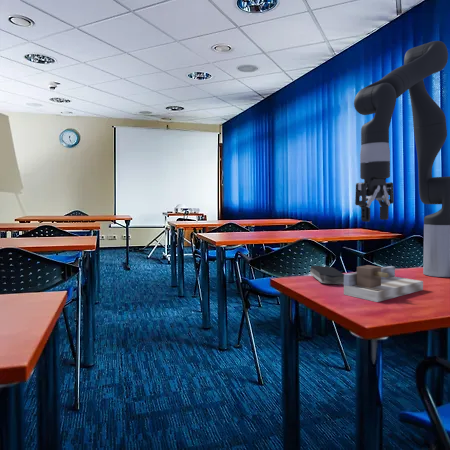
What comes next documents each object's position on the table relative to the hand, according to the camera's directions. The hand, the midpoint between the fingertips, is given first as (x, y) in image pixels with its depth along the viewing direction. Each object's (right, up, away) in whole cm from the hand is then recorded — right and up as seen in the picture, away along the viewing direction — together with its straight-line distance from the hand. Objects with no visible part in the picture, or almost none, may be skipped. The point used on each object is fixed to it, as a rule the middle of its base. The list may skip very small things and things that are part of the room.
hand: (375, 220), depth 101 cm
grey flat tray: (+3, -20, +1) cm, 20 cm away
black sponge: (-8, -20, +18) cm, 28 cm away
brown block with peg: (-2, -18, -4) cm, 18 cm away
